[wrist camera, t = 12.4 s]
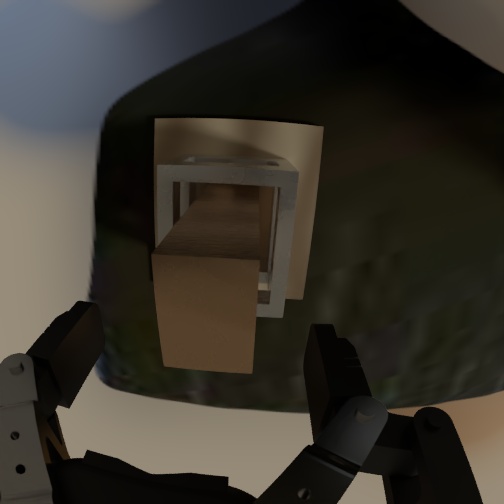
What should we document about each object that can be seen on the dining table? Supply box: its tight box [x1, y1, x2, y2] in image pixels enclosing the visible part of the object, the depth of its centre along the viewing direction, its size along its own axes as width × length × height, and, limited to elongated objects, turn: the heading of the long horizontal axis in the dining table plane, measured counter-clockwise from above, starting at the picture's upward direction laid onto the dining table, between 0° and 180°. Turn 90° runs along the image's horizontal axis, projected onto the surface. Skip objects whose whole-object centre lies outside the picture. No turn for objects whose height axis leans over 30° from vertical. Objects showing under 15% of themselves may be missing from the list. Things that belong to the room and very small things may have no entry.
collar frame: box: [157, 154, 299, 318], centre depth 24 cm, size 8×10×8 cm
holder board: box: [154, 118, 323, 299], centre depth 28 cm, size 14×16×1 cm
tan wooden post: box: [151, 183, 260, 374], centre depth 20 cm, size 4×6×16 cm
